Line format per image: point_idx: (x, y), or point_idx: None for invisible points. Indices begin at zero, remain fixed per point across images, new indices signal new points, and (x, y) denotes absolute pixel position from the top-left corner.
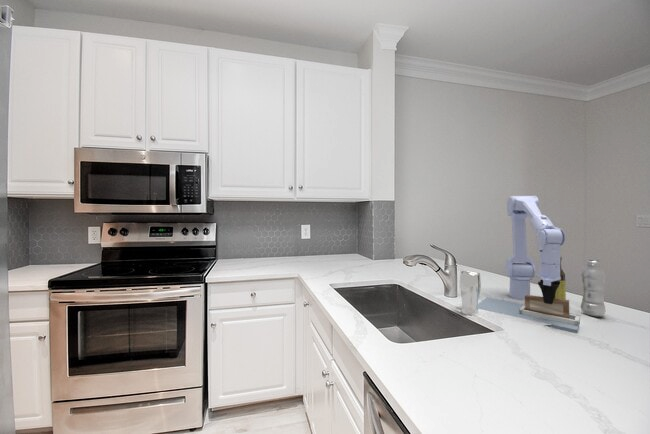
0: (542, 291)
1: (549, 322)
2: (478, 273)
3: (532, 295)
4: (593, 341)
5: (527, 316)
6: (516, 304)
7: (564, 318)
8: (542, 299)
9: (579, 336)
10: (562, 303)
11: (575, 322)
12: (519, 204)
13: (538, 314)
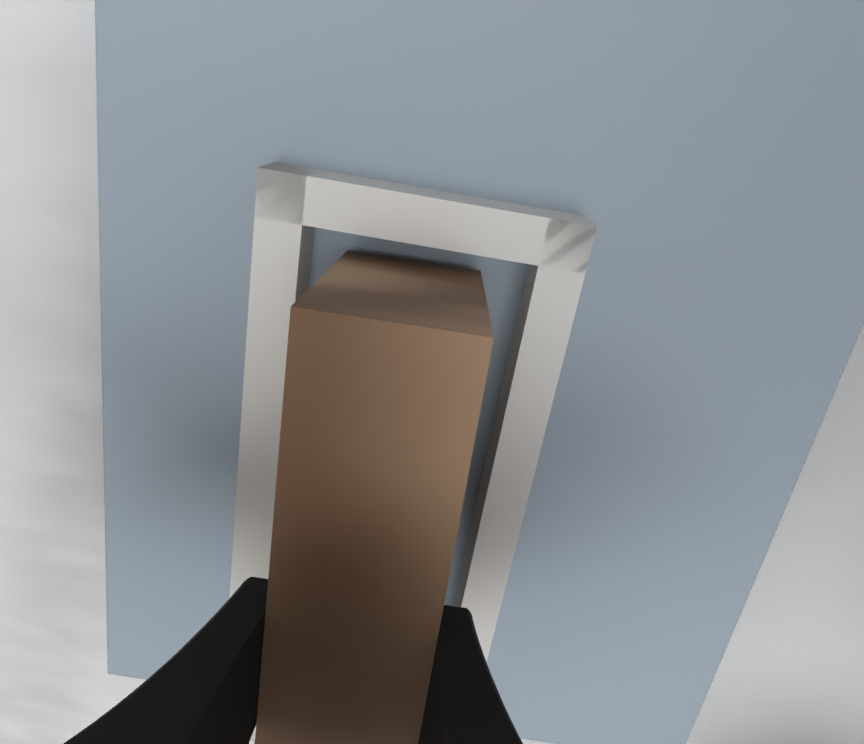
0: (85, 736)
1: (157, 484)
2: None
3: (471, 451)
4: (6, 712)
5: (223, 268)
6: (816, 113)
7: None
8: (268, 586)
9: (48, 649)
10: None
11: None
12: None
13: (246, 408)
